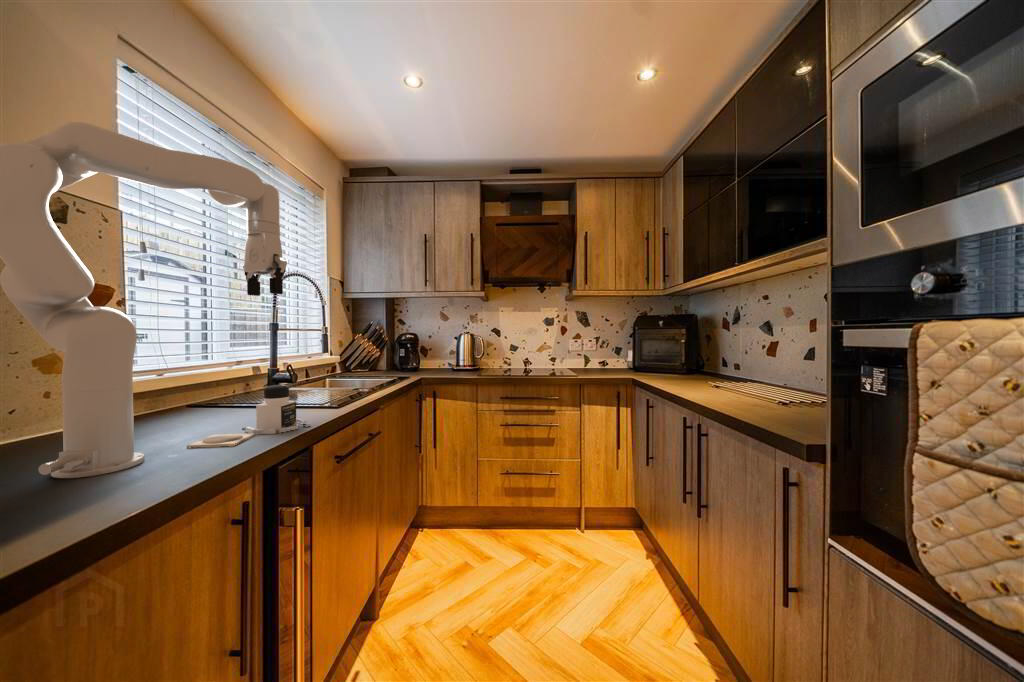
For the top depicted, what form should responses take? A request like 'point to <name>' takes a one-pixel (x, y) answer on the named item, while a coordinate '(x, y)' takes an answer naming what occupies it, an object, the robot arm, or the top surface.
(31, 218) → the robot arm
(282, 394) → the medicine bottle
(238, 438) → the cork pad
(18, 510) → the top surface
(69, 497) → the top surface
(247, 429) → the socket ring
